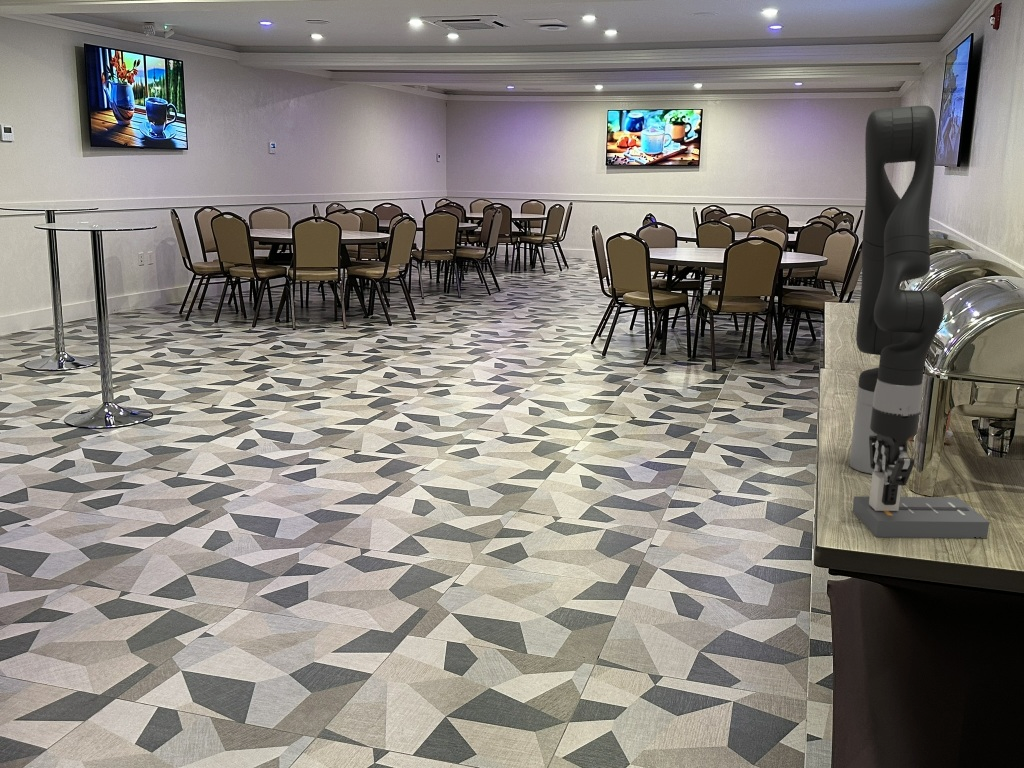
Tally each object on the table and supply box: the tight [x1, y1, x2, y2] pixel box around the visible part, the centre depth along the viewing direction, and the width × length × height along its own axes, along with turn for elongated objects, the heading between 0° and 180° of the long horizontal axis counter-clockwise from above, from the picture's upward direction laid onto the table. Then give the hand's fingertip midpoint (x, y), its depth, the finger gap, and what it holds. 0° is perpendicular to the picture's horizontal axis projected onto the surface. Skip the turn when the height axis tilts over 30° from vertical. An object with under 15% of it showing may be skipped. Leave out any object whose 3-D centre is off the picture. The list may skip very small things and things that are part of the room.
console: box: [852, 496, 991, 539], centre depth 156 cm, size 11×19×3 cm, turn 90°
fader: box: [869, 471, 903, 511], centre depth 155 cm, size 3×4×6 cm
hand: (884, 499), depth 155 cm, fingers closed on fader, 3 cm apart
